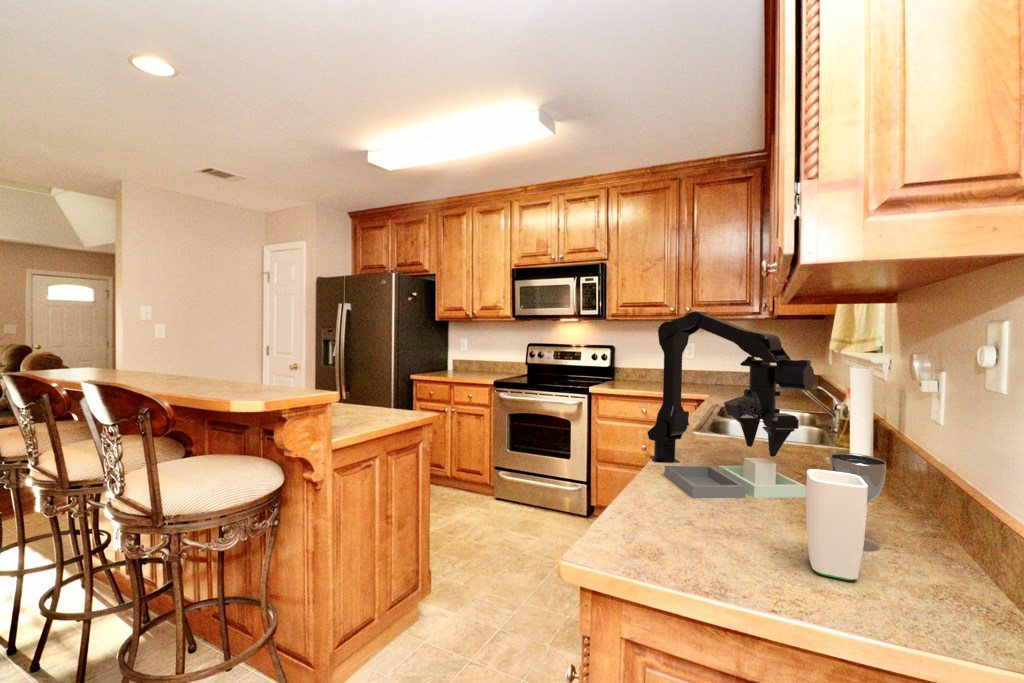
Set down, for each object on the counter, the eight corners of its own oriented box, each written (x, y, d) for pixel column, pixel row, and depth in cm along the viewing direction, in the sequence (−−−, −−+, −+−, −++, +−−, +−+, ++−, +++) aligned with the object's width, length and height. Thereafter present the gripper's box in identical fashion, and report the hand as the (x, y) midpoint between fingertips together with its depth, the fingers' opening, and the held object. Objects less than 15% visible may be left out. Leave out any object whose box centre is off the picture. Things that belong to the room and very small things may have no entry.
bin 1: (664, 477, 120) (664, 465, 120) (710, 477, 121) (710, 465, 121) (692, 500, 104) (693, 486, 104) (745, 499, 105) (745, 486, 105)
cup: (802, 556, 79) (805, 467, 78) (855, 566, 76) (859, 474, 75) (808, 576, 72) (811, 480, 72) (866, 589, 69) (870, 487, 69)
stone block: (742, 482, 116) (743, 457, 116) (762, 482, 116) (763, 457, 116) (754, 488, 111) (755, 463, 111) (775, 488, 111) (776, 463, 111)
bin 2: (717, 477, 121) (718, 465, 121) (762, 477, 122) (763, 465, 122) (754, 499, 105) (754, 486, 105) (805, 499, 106) (806, 486, 106)
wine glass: (877, 556, 79) (880, 467, 79) (822, 540, 85) (825, 457, 85) (887, 543, 84) (890, 459, 84) (834, 528, 90) (837, 450, 90)
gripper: (710, 381, 122) (709, 442, 122) (752, 390, 103) (750, 462, 103) (752, 381, 122) (750, 442, 123) (801, 391, 104) (799, 462, 104)
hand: (760, 451), depth 113 cm, fingers open, 9 cm apart
